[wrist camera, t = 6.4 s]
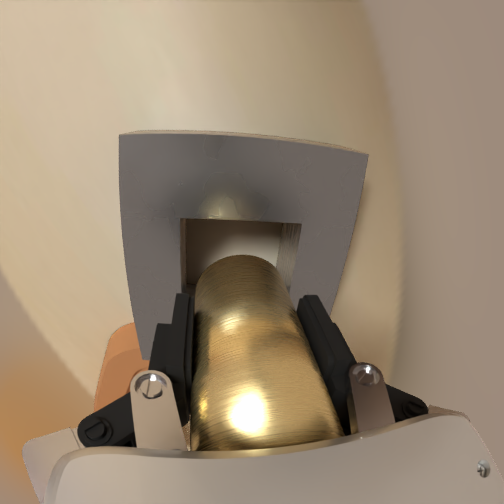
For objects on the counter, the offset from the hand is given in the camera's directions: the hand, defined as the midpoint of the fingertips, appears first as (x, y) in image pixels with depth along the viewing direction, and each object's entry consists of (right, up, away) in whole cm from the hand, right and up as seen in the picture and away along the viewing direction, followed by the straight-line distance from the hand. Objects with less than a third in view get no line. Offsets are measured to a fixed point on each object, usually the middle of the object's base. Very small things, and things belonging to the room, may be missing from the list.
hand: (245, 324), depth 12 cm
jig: (-1, +3, +6) cm, 7 cm away
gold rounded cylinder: (0, +1, +2) cm, 2 cm away
